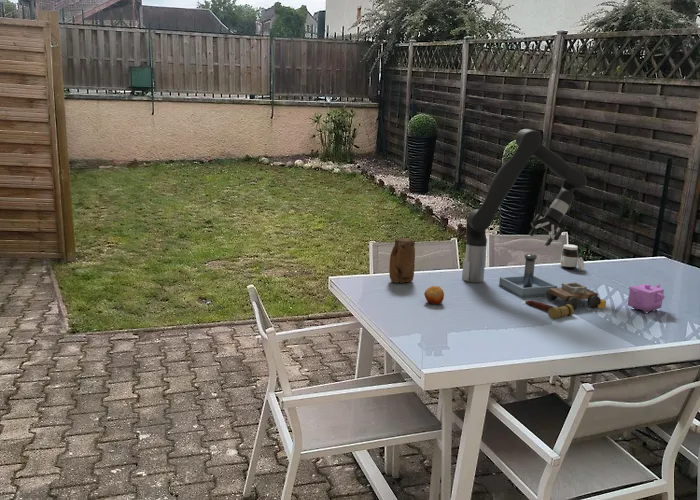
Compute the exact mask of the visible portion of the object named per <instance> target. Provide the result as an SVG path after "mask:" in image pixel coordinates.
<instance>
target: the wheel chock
mask: <svg viewBox="0 0 700 500" xmlns="http://www.w3.org/2000/svg"><path fill="white" fill-rule="evenodd" d="M600 300H601V302H600V304H599V305H598V307H597V308H596V309H604V308H606V304H607V300H605V299H602V298H600Z"/></svg>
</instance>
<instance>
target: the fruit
mask: <svg viewBox="0 0 700 500" xmlns="http://www.w3.org/2000/svg"><path fill="white" fill-rule="evenodd" d="M423 295H424V297H425V300H426V302H427V303H428V304H429V303H430V304H431V305H441V304H442V303H443V301H444V298H445V292H444V290H443V288H441V287H440V286H438V285H437V286H434V285H433V286H429V287H428V288H426V289H425V291H424V294H423Z"/></svg>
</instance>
